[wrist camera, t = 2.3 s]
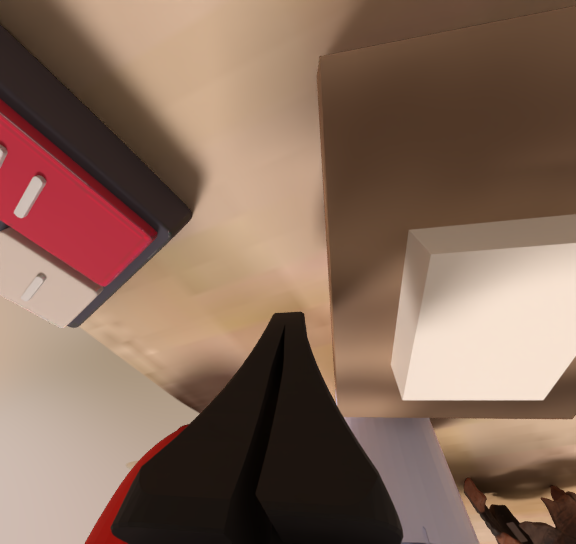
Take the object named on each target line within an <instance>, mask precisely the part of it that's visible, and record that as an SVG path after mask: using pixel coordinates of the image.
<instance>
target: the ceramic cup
mask: <svg viewBox="0 0 576 544" xmlns="http://www.w3.org/2000/svg"><path fill="white" fill-rule="evenodd" d="M188 425H189V424H188ZM188 425H184V426H182V427H180V428H179V429H178V430H177V431H175V432H174V433H172V434H170V435H169V436H167V437H166V438H164V439H163V440H161V441H160V442H159V443H158V444H156V445H155V446H154V447H153V448H152V449H150V450H149V451H148V452H147V453H146V454H145V455H144V456H143V457H142V458H141V459H140V460H139V461H138V462H137V464H136V465H135V466H134V467H133V468H132V470H131V471H130V472H129V473H128V475H127V476H126V477H125V479H124V480H123V482H122V483H121V485H120V486H119V488H118V489H117V490H116V492H115V494H114V495H113V497H112V498H111V500H110V501H109V503H108V505H107V506H106V508H105V510H104V511H103V513H102V514H101V516H100V518H99V519H98V521H97V523H96V525H95V526H94V528H93V530H92V532H91V533H90V535H89V537H88V538H87V540H86V542H85V544H128V543H126V542H124V541H122V540H120V539H118V538H117V537H115V536H114V535H113V534H112V532H111V528H110V527H111V525H112V523H113V521H114V519H115V517H116V515H117V513H118V511H119V509H120V507H121V505H122V503H123V501H124V498H125V496H126V494H127V492H128V490H129V488H130V486H131V484H132V482H133V480H134V479H135V477H136V475H137V473H138V472H139V470H140V468H141V466H142V465H144V464H145V463H146V462H147V461H148V460H150V459H151V458H152V457H153V456H154V455H155V454H157V453H158V452H159V451H160V450H161V449H162V448H164V447H165V446H166V445H167V444H168V443H169V442H171V441H172V440H173V439H174V438H175V437H176V436H177V435H179V434H180V433H181V432H182V431H183V430H184V429H185V428H186V427H187V426H188Z"/></svg>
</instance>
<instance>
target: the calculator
mask: <svg viewBox="0 0 576 544" xmlns="http://www.w3.org/2000/svg"><path fill="white" fill-rule="evenodd" d="M191 218H192V213H191V211H190V209H189V208H188V207H187V206H186V205H185V204H184V203H183V202H182V201H181V200H180V199H179V198H178V197H177V196H176V195H175V194H174V193H173V192H172V191H171V190H170V189H169V188H168V187H167V186H166V185H165V184H164V183H163V182H162V181H161V180H160V179H159V178H158V177H157V176H156V175H155V174H154V173H153V172H152V171H151V170H150V169H149V168H148V167H147V166H146V165H145V164H144V163H143V162H142V161H141V160H140V159H139V158H138V157H137V156H136V155H135V154H134V153H133V152H132V151H131V150H130V149H129V148H128V147H127V146H126V145H125V144H124V143H123V142H122V141H121V140H120V139H119V138H118V137H117V136H116V135H115V134H114V133H113V132H112V131H111V130H110V129H109V128H107V127H106V126H105V125H104V124H103V123H102V122H101V121H100V120H99V119H98V118H97V117H96V116H95V115H94V114H93V113H92V112H91V111H90V110H89V109H88V108H87V107H86V106H85V105H84V104H82V103H81V102H80V101H79V100H78V99H77V98H76V97H75V96H74V95H73V94H72V93H71V92H70V91H69V90H68V89H67V88H66V87H65V86H64V85H63V84H62V83H61V82H60V81H58V80H57V79H56V78H55V77H54V76H53V75H52V74H51V73H50V72H49V71H48V70H47V69H46V68H45V67H44V66H43V65H42V64H41V63H40V62H39V61H38V60H37V59H36V58H35V57H33V56H32V55H31V54H30V53H29V52H28V51H27V50H26V49H25V48H24V47H23V46H22V45H21V44H20V43H19V42H18V41H17V40H16V39H15V38H14V37H13V36H12V35H11V34H10V33H9V32H7V31H6V30H5V29H4V28H3V27H2V26H1V25H0V296H2V297H4V298H6V299H8V300H9V301H11V302H13V303H15V304H17V305H19V306H20V307H22V308H24V309H26V310H28V311H30V312H31V313H33V314H35V315H37V316H39V317H41V318H42V319H44V320H47V321H48V322H50V323H52V324H53V325H55V326H58V327H60V328H64V327H66V326H69V327H73V328H75V327H78V326H80V325H81V324H82V323H83V322H84V321H85V320H86V319H87V318H88V317H89V316H91V315H92V314H93V313H94V312H95V311H96V310H97V309H98V308H99V307H100V306H101V305H102V304H103V303H104V302H105V301H106V300H108V299H109V298H110V297H111V296H112V295H113V294H114V293H115V292H116V291H117V290H118V289H119V288H120V287H121V286H122V285H124V284H125V283H126V282H127V281H128V280H129V279H130V278H131V277H132V276H133V275H134V274H135V273H136V272H137V271H138V270H139V269H141V268H142V267H143V266H144V265H145V264H146V263H147V262H148V261H149V260H150V259H151V258H152V257H153V256H154V255H155V254H156V253H158V252H159V251H160V250H161V249H162V248H163V247H164V246H165V245H166V244H167V243H168V242H169V241H170V240H171V239H172V238H173V237H174V236H175V235H176V234H177V233H178V232H179V231H180V230H181V229H182V228H183V227H184V226H185V225H186V224H187V223H188V222H189V221H190V220H191Z"/></svg>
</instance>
